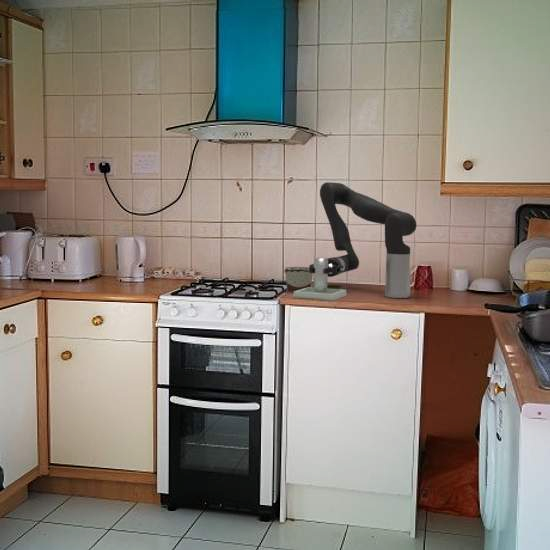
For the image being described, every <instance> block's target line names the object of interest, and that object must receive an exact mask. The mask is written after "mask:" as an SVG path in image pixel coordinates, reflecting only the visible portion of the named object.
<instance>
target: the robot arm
mask: <svg viewBox="0 0 550 550" xmlns="http://www.w3.org/2000/svg"><path fill="white" fill-rule="evenodd" d="M319 196H320V197H319V198H320V201H321V203H322V206H323V209H324V212H325V214H326V217H327V220H328V223H329V225H330V229H331V234H332V239H333V244H334V248H335V250H336V251H339V252H346V253H347V254H343V255H340V256H334V257H333V256H332V257H328V268H325V274H328V278H332V277H336V276H338V275H340V274H343V273H346V272H350V271H354V270H357V269H358V268H359V265H360V260H359V257H358V255H357V254H356V252H355V250H354V247H353V245H352V241H351V237H350V231H349V229H348V226H347V224H346V223H345V221H344V220H343V218H342V217H341V215H340V213H339V211H338V209H337V207H336V206H337V205H342V206H345V207H349V208H350V210H351V212H352V213H353V214H354V215H355V216H357V217H358V218H360V219H363V220H365V221H367V222H370V223H374V224H381V225H384V245H385V248H386V258H385V260H386V261H385V285H384V286H385V287H384V289H385V290H384V296H385V297H386V298H391V299H392V298H393V299H394V298H396V299H407V298H409V297H410V296H411V277H412V273H411V271H410V270H411V269H410V267H411V264H410V262H411V261H410V260H411V247H410V246H409V245H407V244H406V243H405V242H404V237H406V236H407V237H408V236H410V235H412V234H414V233H415V231H416V229H417V221H416V219H415V218H414V216H413V215H412V214H411V213H408V212H404V211H401V210H398V209H395V208H392V207H390V206H389V205H387V204H385V203H383V202H380V201H378V200H376V199H374V198H373V197H370V196H368V195H365V194H363V193H360V192H357V191H355V190H353V189H351V188H350V187H349V186H347V185H346V184H343V183H340V182H328V181H327V182H324V183H323V184H322V185H321V186H320V189H319ZM308 267H309V272H311V273H313V274H314V263H311V264H309V266H308Z"/></svg>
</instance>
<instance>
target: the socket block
mask: <svg viewBox="0 0 550 550" xmlns="http://www.w3.org/2000/svg"><path fill="white" fill-rule="evenodd" d="M327 288H329V289H342V290H347V291H346V293H348V285H339V284H337V285H336V284H327Z"/></svg>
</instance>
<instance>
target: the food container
mask: <svg viewBox="0 0 550 550" xmlns="http://www.w3.org/2000/svg"><path fill="white" fill-rule="evenodd" d="M283 273H284V274H285V280H286V282H285V283H286V292H287V293H291V292H294V291H297V290H301V289H304V288H307V287H312V283H313V277H314V273H311V272H309V266H308V267H307V266H289V267H288V266H287V267H285V268H284V271H283Z"/></svg>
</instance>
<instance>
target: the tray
mask: <svg viewBox="0 0 550 550" xmlns="http://www.w3.org/2000/svg"><path fill="white" fill-rule="evenodd" d="M313 288H314V286H311V287H307V288H304V289H301V290H297V291H294V293H293V299H299V298H302V299H303V300H304V299H305V300H312V299H313V300H312V301H314V300H315V301H324V302H325V301H327V302H334V301H337V300H339V299H343V298H345V297H347V292H348V289H347V290H342V289H329V288H327V292H324V293H319V292H313ZM346 291H347V292H346ZM342 297H343V298H342Z"/></svg>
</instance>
